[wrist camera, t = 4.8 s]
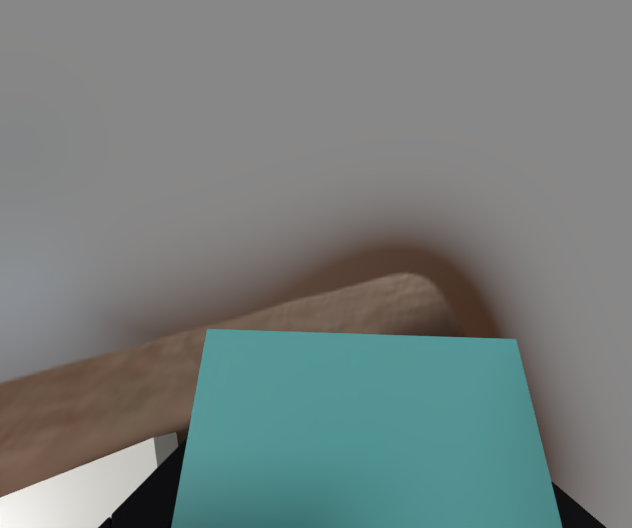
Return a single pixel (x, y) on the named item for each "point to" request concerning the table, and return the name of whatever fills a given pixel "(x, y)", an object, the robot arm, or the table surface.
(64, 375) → the table surface
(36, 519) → the base brick
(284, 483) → the tall brick
